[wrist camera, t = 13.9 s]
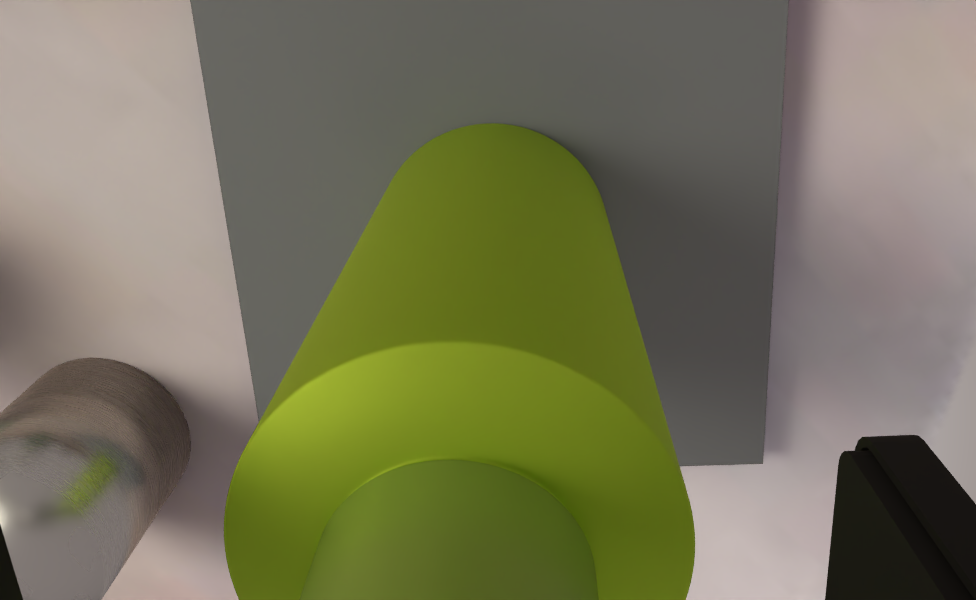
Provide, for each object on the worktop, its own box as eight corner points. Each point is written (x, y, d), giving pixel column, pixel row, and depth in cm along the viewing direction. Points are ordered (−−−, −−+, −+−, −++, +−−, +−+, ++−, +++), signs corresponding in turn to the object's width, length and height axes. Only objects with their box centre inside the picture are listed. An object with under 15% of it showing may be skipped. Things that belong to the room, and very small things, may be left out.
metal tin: (4, 360, 27) (-134, 470, 21) (174, 354, 26) (79, 463, 21) (44, 508, 28) (-74, 646, 23) (203, 503, 28) (123, 642, 23)
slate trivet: (197, -42, 22) (183, -42, 22) (781, -78, 22) (793, -79, 21) (277, 459, 27) (268, 478, 26) (754, 445, 27) (762, 463, 26)
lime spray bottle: (452, 41, 22) (40, 643, 3) (655, 232, 23) (1157, 1379, 5) (300, 215, 24) (-536, 1255, 5) (498, 382, 25) (421, 1653, 7)
